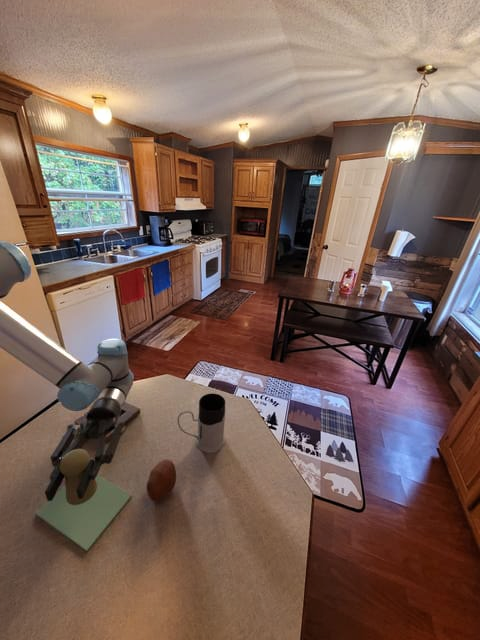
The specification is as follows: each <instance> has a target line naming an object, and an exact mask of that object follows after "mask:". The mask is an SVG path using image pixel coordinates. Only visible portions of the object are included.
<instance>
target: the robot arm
mask: <svg viewBox="0 0 480 640" xmlns="http://www.w3.org/2000/svg"><path fill="white" fill-rule="evenodd" d="M31 275H32V266H31V263H30V261H29V259H28V257H27V256H26V254H25V253H24V251H22V250H21V249H20V247H18V246H17V245H15V244H13V243H12V242H9V241H5V240H0V348H1V349H2V350H3V351H5V352H6V353H7V354H9V355H11V357H13V358H15V359H16V360H18V361H19V362H20V363H22V364H23V365H25V366H26V367H28V368H29V369H31V370H32V371H34V372H35V373H36V374H38V375H39V376H40V377H42V378H43V379H45V380H46V381H48V382H49V383H51V384H52V385H54V386H55V387H57V388H58V389H59V390H58V391H57V395H56V397H57V401H58V402H60V403H61V406H62V407H63V408H64V409H67V410H68V411H71V412H81V411H83V410H86V409H87V408H89V406H91V407H90V408H89V410H88V411H89V412H88V411H87V412H88V414H87V416H86V419H85V420H84V421H82V422H81V424H79V425H75V424H73V423H70V424H69V423H68V425H66V426H67V427H66V432H65V434H64V435H63V436H62V438H61V439H60V441H59V443H58V445H57V446H56V447H55V449H54V451H53V452H52V454H51V455H50V462H51V464H52V467H53V470H52V471H51V473H50V475H49V479H50V482H49V483H48V485H47V488H46V490H45V491H44V494H45V498H46V500H47V502H48V501H52V500H53V498H54V496H55V494H56V493H57V492H58V490H59V488H60V486H61V485H62V483H63V481H64V480H65V475H64V474H62V473H61V470H60V462H61V460H62V458H63V457H64V456H65V455H66V454H67V453H68V452H70V451H72V450H75V449H82V448H83V447H84V446H85V445H86V444H88V443H89V442H90V440H96V446H95V453H94V454H95V455H94V459H93V458H92V459H89V463H88V466H87V468H86V470H85V472H84V474H83V476H82V478H81V481H80V483H79V485H78V487H77V489H76V491H77V495H78V498H79V499H83V497H84V494H85V492H86V490H87V487H88V485H89V482H90V480H94V479H95V478H96V476H97V475H98V474H99V470H101V467H102V466H103V465H104V464H106V465H110V464H111V463H112V462H113V459H114V457H115V454H116V450H117V447H118V446H119V442H120V441H121V437H122V436H123V435H124V433H125V432H126V427H125V424H124V422H121V423H120V424H118V423H116V422H117V419H118V418H119V417H120V416H121V413H120V412H121V410H122V407H123V405H124V402H126V401H127V400H126V399H127V397H128V395H129V393H130V390H132V389H131V388H132V386H133V384H134V379H135V377H134V373H133V372H132V371H131V369H130V366H129V357H128V356H129V355H128V350H127V343H126V342H125V341H124V340H123V339H120V338H108V339H105V340H102V341H101V342H100V343H98V345H97V352H96V353H97V356H96V357H95V358H94V359H93V360H92V361H90V362H89V363H88V364H86V363H84V362H83V361H81V360H80V359H78V358H77V357H76V356H74V355H73V354H71V353H70V352H69V351H68V350H67V349H65V348H64V347H62V346H61V345H60V344H58V343H57V342H56V341H54V340H53V339H52V338H51V337H49V336H48V335H46V334H45V333H44V332H42V331H41V330H39V328H37V327H35V326H34V325H33V324H31V323H30V322H29V321H27V319H25V318H24V317H22V316H20V315H19V314H18V313H17V312H15V311H14V310H13V309H12V308H11V307H9V306H7V305H6V304H5V303H3V302H2V301H1V300H2V299H4V298H6V297H7V296H8V295H9V293H10V292H11V290H12V289H13V287H14V286H15V285H16V284H18V283H24V282H25V281H26V280H29V278H30V277H31ZM92 403H93V404H92ZM112 430H114V432H113V435H112V437H111V440H110V441H109V442H108V445H107V446H106V445H105V444H106V442H105V440H106V435H107V434H108V433H110V432H111V431H112ZM77 435H78V436H77ZM75 436H77V437H76V438H75ZM74 438H75V439H74ZM105 446H106V447H107V448H106V450H105Z"/></svg>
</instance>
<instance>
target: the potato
mask: <svg viewBox="0 0 480 640" xmlns="http://www.w3.org/2000/svg"><path fill="white" fill-rule="evenodd" d="M176 482H177V470H176V466H175V464H174V462H173V460H170V459H168V458H167V459H162V460H160V461H159V462H158V463H157V464H156V465H155V466H154V467H153V468H152V469H151V470H150V472H149V476H148V480H147V482H146V491H147V495H148V498H149V499H150V500H151V501H152V502H154V503H158V502H159V503H160V502H161V501H163V500H165V499H166V498H167V497H168V496H169V495H170V494H171V493H172V491H173V489H174V487H175V485H176Z"/></svg>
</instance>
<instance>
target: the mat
mask: <svg viewBox="0 0 480 640" xmlns="http://www.w3.org/2000/svg"><path fill="white" fill-rule="evenodd" d="M95 480H96V482H97V490H96V492H95V493H94V495H93V496H92V497H91V498H90V499H89V500H88V501H86V502H84V503H82V504H79V505H71V504H69V503H68V502H67V500H66V488H65V485H64V486H63V487H62V488H60V489H59V491H58V490H57V492H56V494H55V496H54V498H53V500H52V501H48V500H47V501H46V502H45V503H44V504H43V505H42V506H41V507H40V508H39V509H37V510H36V512H34V514H35V516H37V517H38V518H40V520H42V521H44V522H45V523H46V524H47V525H49V526H51V527H52V528H53V529H55V530H56V531H57V532H58V533H60V534H61V535H63V536H64V537H66V538H67V539H68V540H70V541H71V542H72V543H73V544H75V545H77V546H78V547H79V548H81V549H82V550H83V551H85V552H86V553H88V552H89V551H90V550H91V548H92V547H93V546H94V544H95V543H96V542H97V541H98V539H99V538H100V537H102V535H103V534H104V532H105V531H106V529H108V527H109V526H110V524H111V523H112V522H113V521H114V520H115V518H116V517H117V516H118V515H119V513H120V512H121V510H123V508H124V507H125V506H126V505H127V503H128V502H129V501H130V500H131V499H132V497H133V495H132V494H131V493H129V492H127V491H126V490H124V489H122V488H121V487H118V486H117V485H116V484H113V483H112V482H110V481H108V480H107V479H105V478H104V477H101V476H100V475H98V474H97V476H96V478H95Z"/></svg>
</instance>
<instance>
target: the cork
mask: <svg viewBox="0 0 480 640" xmlns="http://www.w3.org/2000/svg"><path fill="white" fill-rule="evenodd" d="M89 461H90V455H89V453H88V451H86V450H85V449H82V448H81V449H75V450H72V451H70V452H68V453H67V454H66V455H65V456H64V457H63V458H62V460H61V462H60V470H61V473H62V474H64V475H65V477H64V484H65V485H64V486H65V488H66V500H67V502H68V503H69V504H71V505H79V504H82V503H84V502H86V501H88V500H89V499H90V498H91V497H92V496H93V495H94V493H95V492H96V490H97V482H96V480H95V479H94V480H90V482H89V485H88V487H87V490H86V492H85V494H84V497H83V499H79V498H78V495H77V491H76V489H77V487H78V485H79V483H80V481H81V478H82V476H83V474H84V472H85V470H86V468H87V466H88V463H89Z"/></svg>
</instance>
